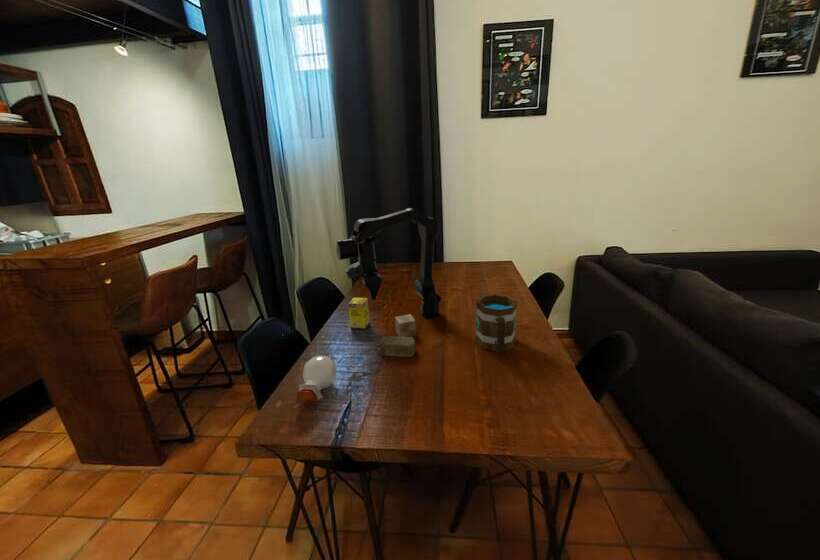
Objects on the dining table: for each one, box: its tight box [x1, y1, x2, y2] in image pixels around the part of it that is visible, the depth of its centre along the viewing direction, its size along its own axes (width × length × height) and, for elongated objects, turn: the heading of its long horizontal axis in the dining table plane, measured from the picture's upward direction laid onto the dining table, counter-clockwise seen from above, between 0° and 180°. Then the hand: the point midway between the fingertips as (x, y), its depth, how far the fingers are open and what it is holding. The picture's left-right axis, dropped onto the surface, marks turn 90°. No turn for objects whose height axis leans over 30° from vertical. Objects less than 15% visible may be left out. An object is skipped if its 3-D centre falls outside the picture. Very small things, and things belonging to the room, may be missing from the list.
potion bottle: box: [295, 355, 338, 409], centre depth 96 cm, size 9×10×15 cm
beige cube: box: [394, 313, 417, 337], centre depth 126 cm, size 6×6×6 cm
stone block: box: [379, 335, 417, 358], centre depth 114 cm, size 6×12×5 cm, turn 81°
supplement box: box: [348, 297, 371, 331], centre depth 133 cm, size 6×6×11 cm
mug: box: [474, 293, 518, 353], centre depth 113 cm, size 20×14×15 cm
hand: (371, 295), depth 128 cm, fingers open, 9 cm apart
